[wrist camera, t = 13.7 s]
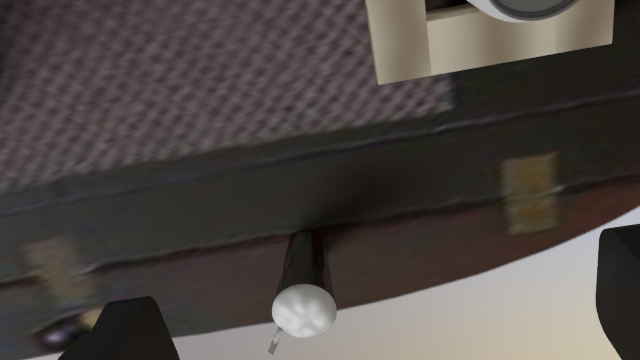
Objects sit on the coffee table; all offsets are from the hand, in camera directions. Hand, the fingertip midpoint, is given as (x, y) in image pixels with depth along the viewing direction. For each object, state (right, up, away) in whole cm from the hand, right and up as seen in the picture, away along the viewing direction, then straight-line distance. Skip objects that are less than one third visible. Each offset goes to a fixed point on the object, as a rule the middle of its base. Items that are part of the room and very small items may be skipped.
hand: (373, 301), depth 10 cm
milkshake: (-2, -3, +36) cm, 36 cm away
